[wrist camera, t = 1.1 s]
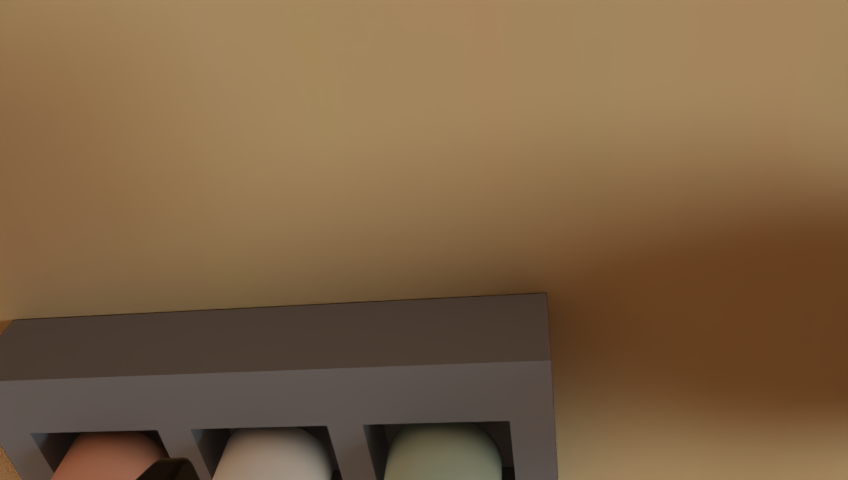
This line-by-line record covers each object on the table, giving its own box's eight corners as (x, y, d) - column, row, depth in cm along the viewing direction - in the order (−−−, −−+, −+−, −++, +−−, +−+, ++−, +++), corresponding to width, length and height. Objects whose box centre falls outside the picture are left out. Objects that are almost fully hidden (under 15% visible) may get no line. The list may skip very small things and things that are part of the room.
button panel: (546, 293, 23) (551, 360, 20) (557, 486, 28) (562, 559, 25) (13, 320, 26) (-40, 382, 23) (108, 491, 31) (73, 558, 28)
